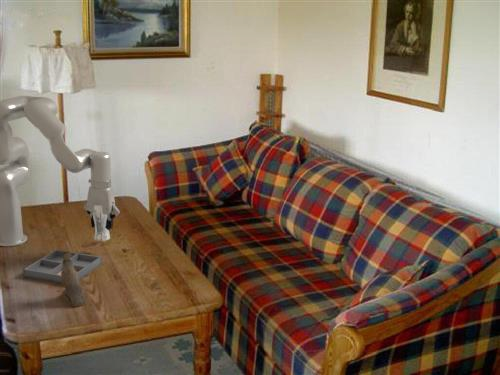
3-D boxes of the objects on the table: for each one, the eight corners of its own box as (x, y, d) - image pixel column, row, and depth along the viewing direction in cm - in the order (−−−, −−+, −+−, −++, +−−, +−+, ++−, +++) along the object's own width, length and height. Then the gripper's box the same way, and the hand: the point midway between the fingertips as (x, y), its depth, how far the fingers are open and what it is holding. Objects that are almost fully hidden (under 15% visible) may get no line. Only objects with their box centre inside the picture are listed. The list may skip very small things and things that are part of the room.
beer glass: (107, 242, 249) (106, 206, 245) (90, 240, 251) (89, 204, 246) (114, 236, 256) (113, 200, 251) (97, 234, 257) (97, 198, 253)
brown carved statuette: (62, 301, 221) (54, 250, 219) (77, 297, 224) (70, 247, 222) (72, 308, 211) (64, 255, 209) (88, 304, 214) (80, 252, 211)
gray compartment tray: (23, 276, 233) (23, 269, 233) (56, 256, 252) (56, 249, 251) (71, 285, 227) (71, 277, 226) (101, 264, 246) (101, 256, 245)
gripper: (76, 183, 246) (77, 227, 251) (115, 189, 241) (116, 234, 246) (86, 178, 253) (88, 221, 258) (125, 184, 248) (126, 228, 253)
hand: (102, 227), depth 252 cm, fingers closed on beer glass, 6 cm apart
